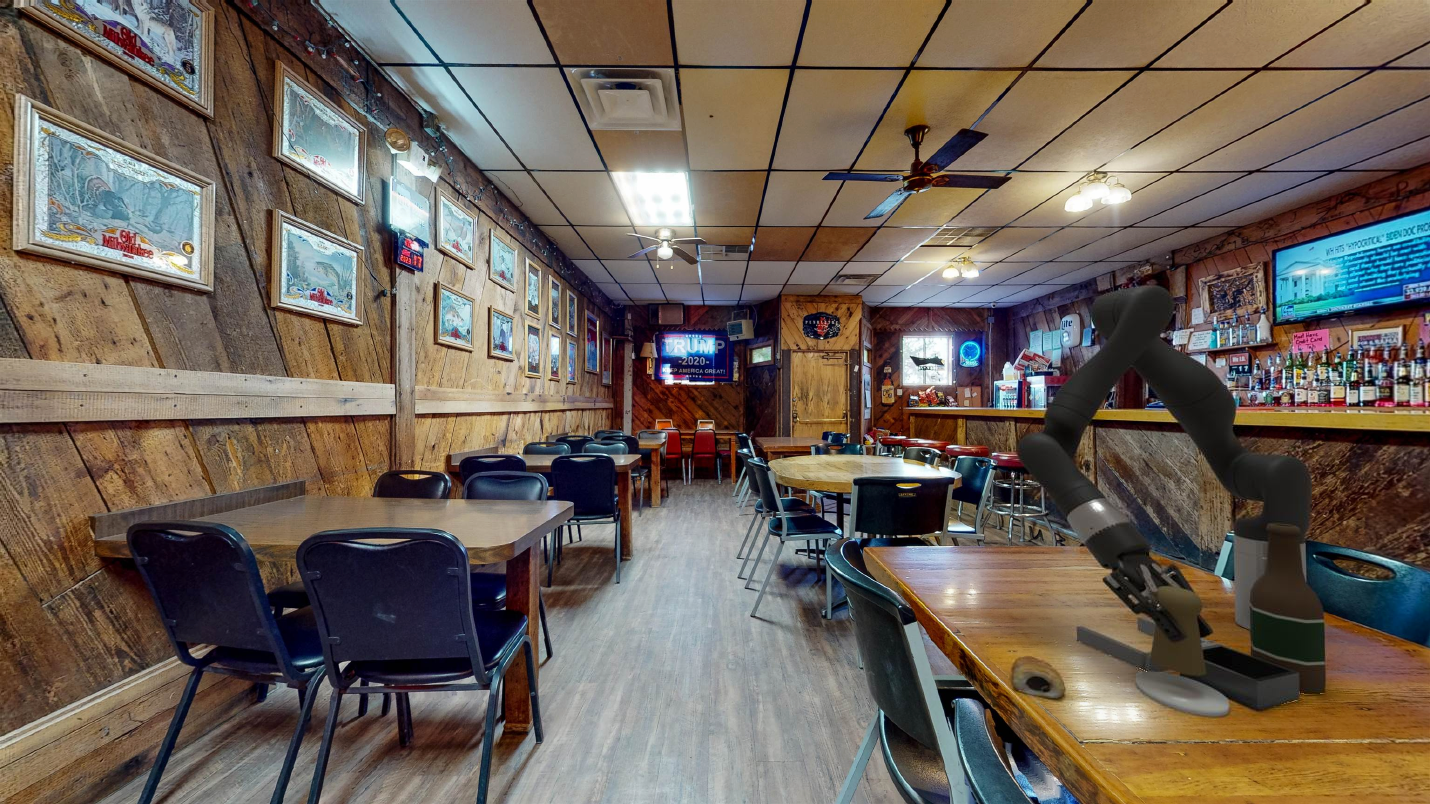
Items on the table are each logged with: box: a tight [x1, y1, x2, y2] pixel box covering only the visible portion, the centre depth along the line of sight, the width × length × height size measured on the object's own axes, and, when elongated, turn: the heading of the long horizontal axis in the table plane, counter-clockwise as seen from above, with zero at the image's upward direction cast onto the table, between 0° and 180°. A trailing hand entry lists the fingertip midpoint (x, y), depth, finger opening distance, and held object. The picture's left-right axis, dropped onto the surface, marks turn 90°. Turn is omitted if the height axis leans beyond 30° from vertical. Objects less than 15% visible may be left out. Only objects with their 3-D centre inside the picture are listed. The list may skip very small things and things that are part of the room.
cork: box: [1150, 586, 1206, 676], centre depth 73 cm, size 6×6×11 cm
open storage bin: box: [1179, 643, 1301, 712], centre depth 75 cm, size 9×9×4 cm
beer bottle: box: [1249, 523, 1327, 694], centre depth 77 cm, size 8×8×24 cm
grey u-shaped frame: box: [1076, 616, 1219, 672], centre depth 87 cm, size 16×12×2 cm
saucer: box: [1135, 671, 1230, 718], centre depth 73 cm, size 10×10×1 cm
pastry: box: [1010, 655, 1066, 699], centre depth 77 cm, size 9×7×4 cm
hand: (1193, 637), depth 71 cm, fingers closed on cork, 4 cm apart
